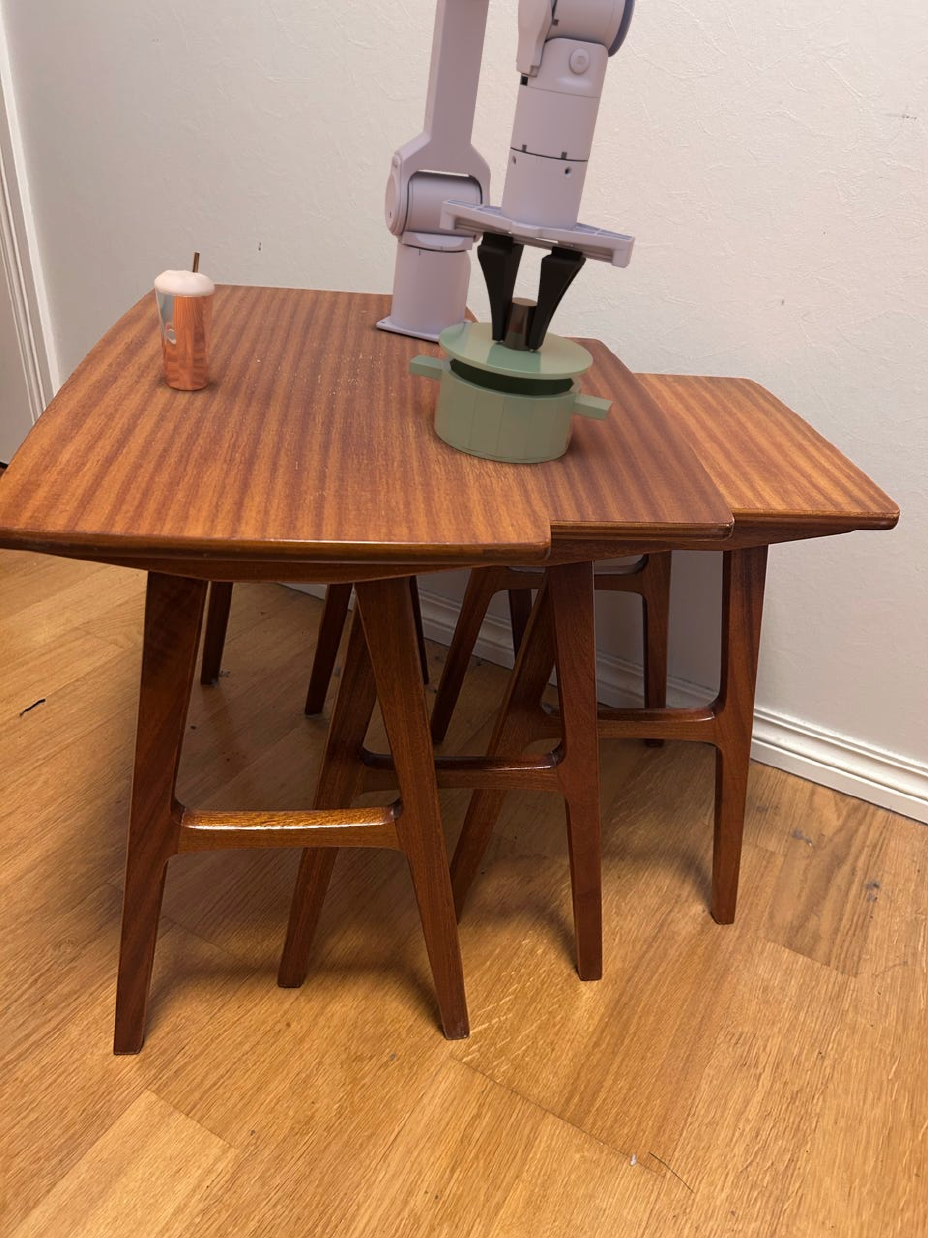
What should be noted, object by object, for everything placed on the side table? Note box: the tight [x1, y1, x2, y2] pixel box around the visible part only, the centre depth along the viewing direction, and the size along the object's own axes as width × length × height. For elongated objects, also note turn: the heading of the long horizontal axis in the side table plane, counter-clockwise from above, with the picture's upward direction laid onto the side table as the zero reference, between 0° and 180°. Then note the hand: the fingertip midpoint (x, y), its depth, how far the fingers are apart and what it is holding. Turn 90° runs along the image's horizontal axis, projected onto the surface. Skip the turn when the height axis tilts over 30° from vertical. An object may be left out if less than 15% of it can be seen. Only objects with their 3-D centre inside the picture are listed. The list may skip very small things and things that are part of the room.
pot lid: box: [438, 296, 594, 380], centre depth 72 cm, size 12×12×5 cm
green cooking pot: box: [407, 354, 613, 464], centre depth 76 cm, size 11×17×5 cm
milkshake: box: [153, 251, 216, 391], centre depth 75 cm, size 4×5×10 cm
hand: (516, 342), depth 73 cm, fingers closed on pot lid, 2 cm apart
